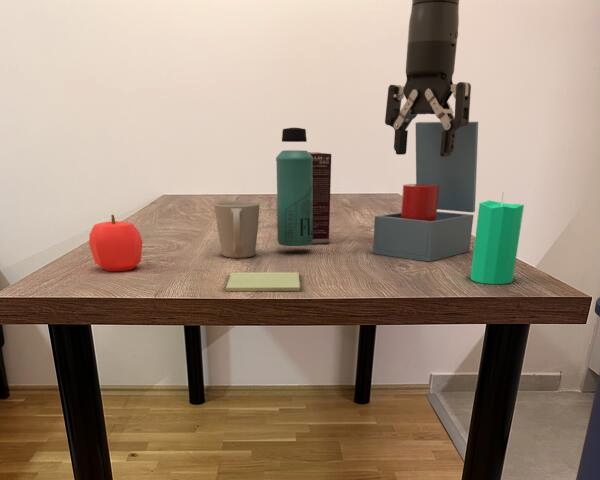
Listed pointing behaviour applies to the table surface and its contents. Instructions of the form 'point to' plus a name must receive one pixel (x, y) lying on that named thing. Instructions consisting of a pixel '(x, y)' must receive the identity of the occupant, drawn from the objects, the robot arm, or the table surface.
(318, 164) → the supplement box
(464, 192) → the lid
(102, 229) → the apple
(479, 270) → the candle
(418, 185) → the red cylinder
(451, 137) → the robot arm
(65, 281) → the table surface
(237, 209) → the cup
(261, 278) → the mat
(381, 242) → the chest
